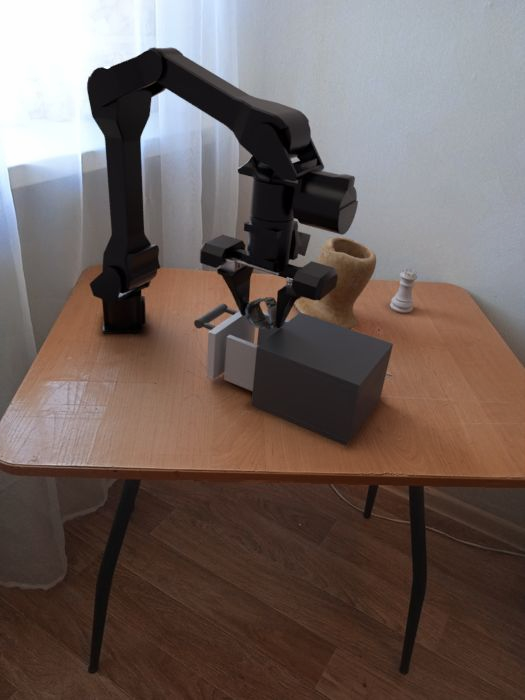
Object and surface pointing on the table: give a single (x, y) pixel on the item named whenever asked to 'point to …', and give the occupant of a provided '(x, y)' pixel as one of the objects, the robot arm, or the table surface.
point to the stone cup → (341, 281)
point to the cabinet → (320, 376)
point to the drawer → (232, 346)
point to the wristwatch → (257, 316)
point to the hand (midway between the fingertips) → (261, 320)
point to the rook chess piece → (404, 292)
